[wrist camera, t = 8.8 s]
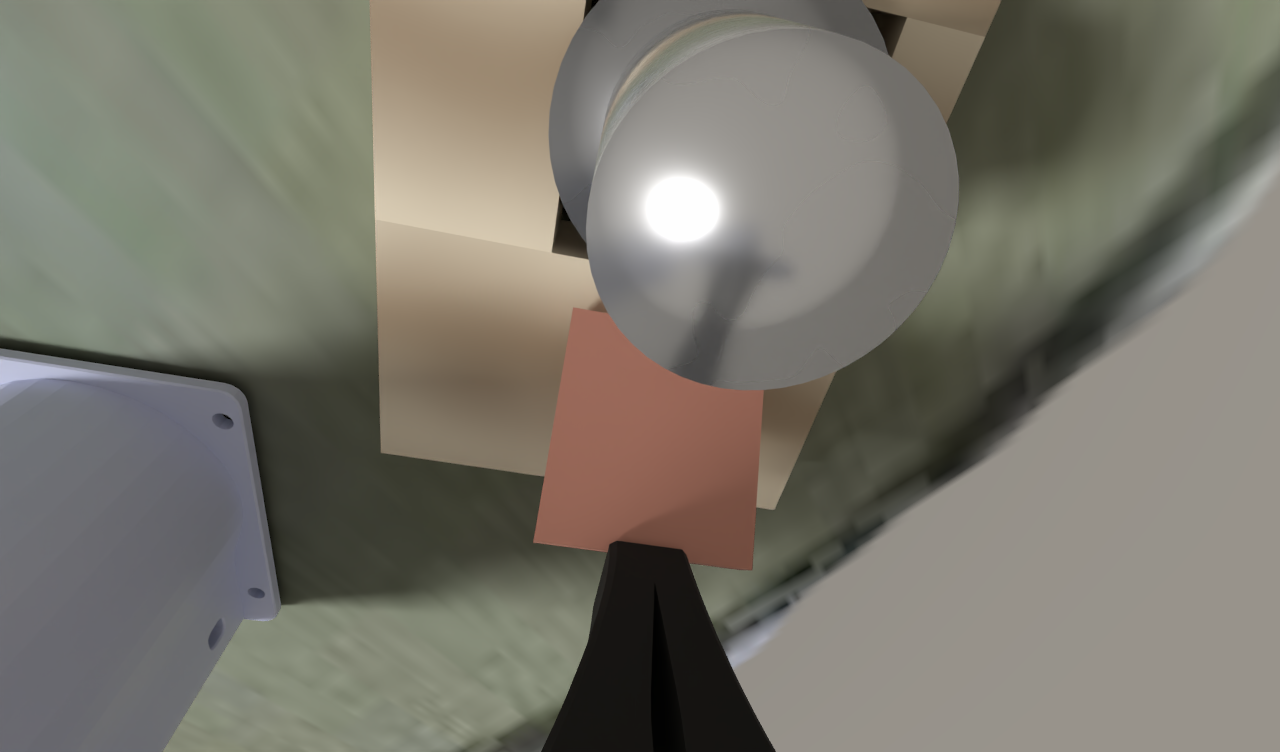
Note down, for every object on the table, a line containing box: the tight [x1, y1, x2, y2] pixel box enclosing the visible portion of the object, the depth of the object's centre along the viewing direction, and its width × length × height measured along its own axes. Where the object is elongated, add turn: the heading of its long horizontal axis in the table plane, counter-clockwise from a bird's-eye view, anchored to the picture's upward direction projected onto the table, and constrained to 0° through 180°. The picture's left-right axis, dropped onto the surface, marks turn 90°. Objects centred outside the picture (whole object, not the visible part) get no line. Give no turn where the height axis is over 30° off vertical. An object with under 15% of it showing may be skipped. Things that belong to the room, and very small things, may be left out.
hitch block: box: [370, 0, 1001, 510], centre depth 13 cm, size 13×10×2 cm
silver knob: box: [548, 0, 959, 390], centre depth 10 cm, size 6×6×7 cm
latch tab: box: [533, 307, 764, 570], centre depth 12 cm, size 4×4×1 cm
